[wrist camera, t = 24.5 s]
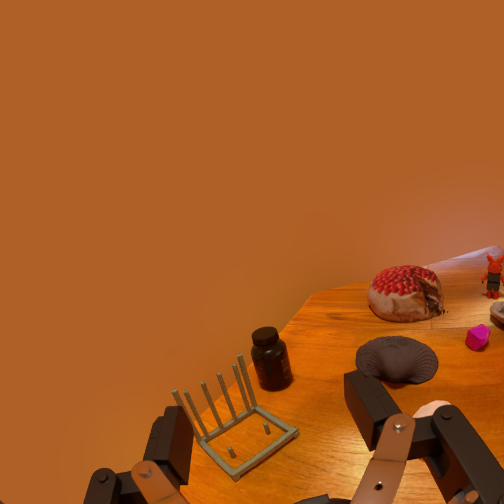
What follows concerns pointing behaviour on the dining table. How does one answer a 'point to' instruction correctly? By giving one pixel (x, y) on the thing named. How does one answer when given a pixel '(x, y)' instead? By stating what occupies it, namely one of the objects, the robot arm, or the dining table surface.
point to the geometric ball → (429, 408)
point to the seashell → (397, 360)
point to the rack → (235, 422)
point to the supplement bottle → (270, 359)
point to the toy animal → (493, 276)
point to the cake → (406, 294)
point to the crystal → (477, 336)
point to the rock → (498, 311)
